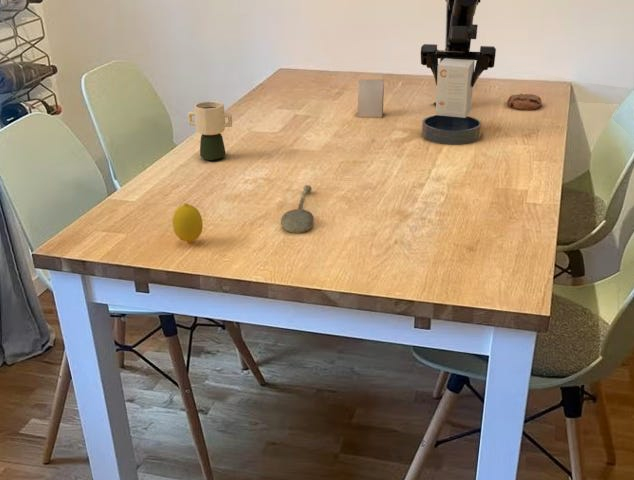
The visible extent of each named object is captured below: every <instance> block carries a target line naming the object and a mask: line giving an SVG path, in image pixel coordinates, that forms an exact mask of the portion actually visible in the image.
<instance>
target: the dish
mask: <svg viewBox="0 0 634 480" xmlns="http://www.w3.org/2000/svg"><path fill="white" fill-rule="evenodd" d="M482 126H483V122H482V121H481V120H479V119H478V118H475V117H473V116H469V115H467V117H466V118H461V117H450V116H439V115H436V114H435V115H430V116H427V117H424V118H423V120H422V122H421V136H422V138H423V139H425V140H427V141H429V142H432V143H436V144H442V145H467V144H471V143H475V142H477V141H479V140H480V139H481V135H482Z"/></svg>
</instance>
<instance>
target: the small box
mask: <svg viewBox="0 0 634 480" xmlns="http://www.w3.org/2000/svg"><path fill="white" fill-rule="evenodd" d="M439 62H440V61H439ZM439 62H438V74H437V86H436V93H435V95H436V97H435V102H436V105H435V115H439V116H450V117H461V118H466V117H467V116H469V114H470V112H471V111H472V103H473V93H474V92H473V91H474V86H473V87H471V85H472V78H473V74H474V70H475V60H463V59H448V58H444V59H443V60H442V61H441V62H440V63H439Z"/></svg>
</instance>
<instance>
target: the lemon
mask: <svg viewBox="0 0 634 480" xmlns="http://www.w3.org/2000/svg"><path fill="white" fill-rule="evenodd" d="M172 228H173V231H174V234H175V236H176V237H177V238H179V240H181V241H183V242H186V243H188V244H191V243H193V242H194V241H196V240H197V239H199V237H200V236H201V234H202V232H203V229H204V228H203V218H202V215H201V212H200V211H199V209H198V208H197V207H195V206H193V205H191V204H188V203H183V204H182V205H180V206H179V207H177V208H176V209H175V211H174V213H173V216H172Z"/></svg>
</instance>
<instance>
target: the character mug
mask: <svg viewBox="0 0 634 480" xmlns="http://www.w3.org/2000/svg"><path fill="white" fill-rule="evenodd" d="M193 117H194V121H193ZM226 118H227V122H226ZM187 120H188V122H187V123H188V125H189V126H195V130H196V132H197V133H198V134H199V135H201V136H200V141H199V143H200V144H199V157H200V158H201V159H204V160H207V161H215V160H218V159H221V158H224V157H225V156H226V148H225V142H224V138H223V135H222V133H224V131H225V130H226V128H232V127H233V115H232V113H230V112H225V105H224V103H223V102H220V101H216V100H207V101H201V102H197V103H195V104H194V105H193V111H188V112H187Z"/></svg>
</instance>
